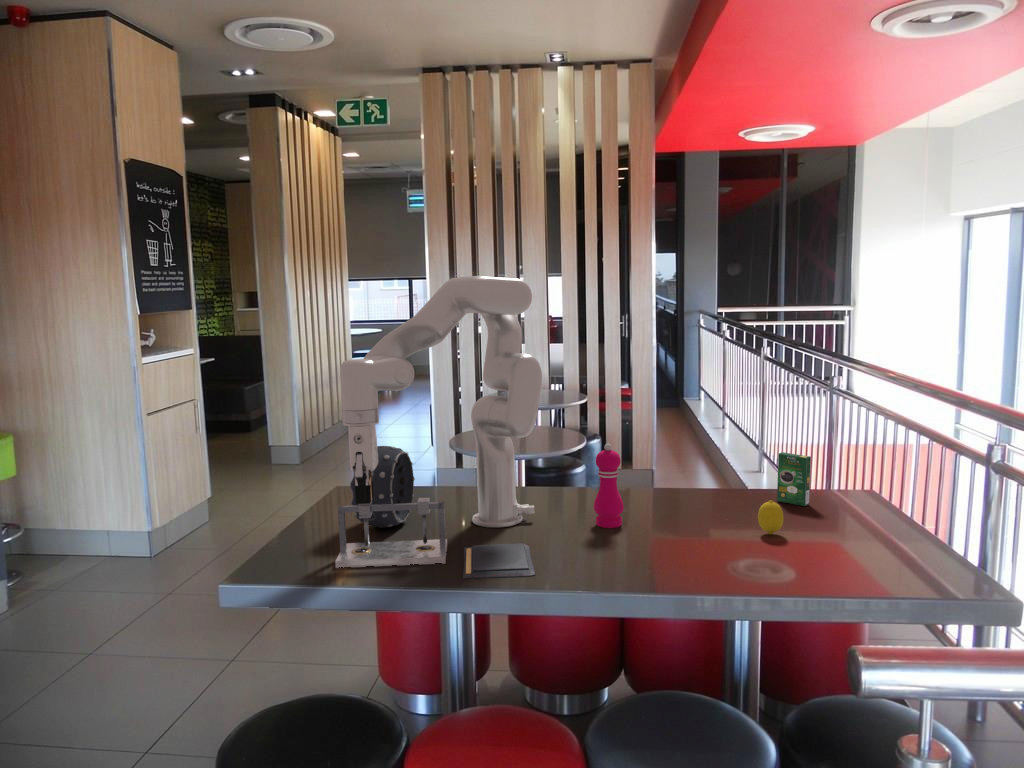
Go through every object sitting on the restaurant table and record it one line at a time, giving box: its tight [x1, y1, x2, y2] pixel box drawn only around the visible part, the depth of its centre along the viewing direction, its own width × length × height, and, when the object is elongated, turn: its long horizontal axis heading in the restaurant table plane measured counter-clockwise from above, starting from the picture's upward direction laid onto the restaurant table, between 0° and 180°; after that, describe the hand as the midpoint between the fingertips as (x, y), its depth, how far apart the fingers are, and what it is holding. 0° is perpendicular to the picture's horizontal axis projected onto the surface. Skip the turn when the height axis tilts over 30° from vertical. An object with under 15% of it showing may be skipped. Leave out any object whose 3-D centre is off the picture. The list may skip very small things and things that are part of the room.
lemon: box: [757, 499, 785, 535], centre depth 175 cm, size 6×6×8 cm
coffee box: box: [776, 451, 812, 507], centre depth 200 cm, size 8×3×13 cm, turn 44°
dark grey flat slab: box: [462, 542, 536, 580], centre depth 162 cm, size 20×2×15 cm
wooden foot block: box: [358, 477, 372, 546], centre depth 166 cm, size 3×4×15 cm
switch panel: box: [334, 497, 448, 569], centre depth 166 cm, size 23×12×12 cm, turn 93°
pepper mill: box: [593, 443, 625, 529], centre depth 185 cm, size 7×7×20 cm
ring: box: [349, 445, 416, 529], centre depth 190 cm, size 11×20×20 cm, turn 170°
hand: (364, 499), depth 165 cm, fingers closed on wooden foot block, 3 cm apart
